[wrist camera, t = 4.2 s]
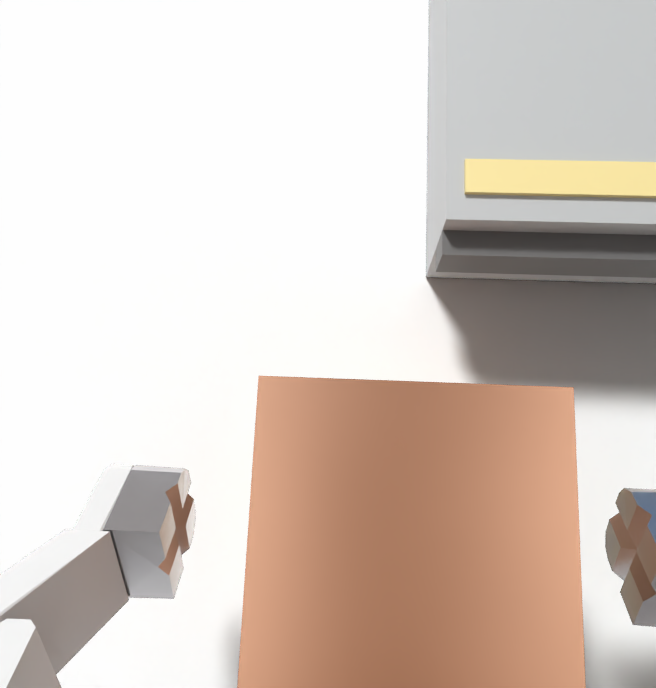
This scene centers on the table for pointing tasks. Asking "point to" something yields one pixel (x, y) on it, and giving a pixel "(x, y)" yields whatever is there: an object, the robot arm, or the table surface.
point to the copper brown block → (412, 537)
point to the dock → (542, 140)
